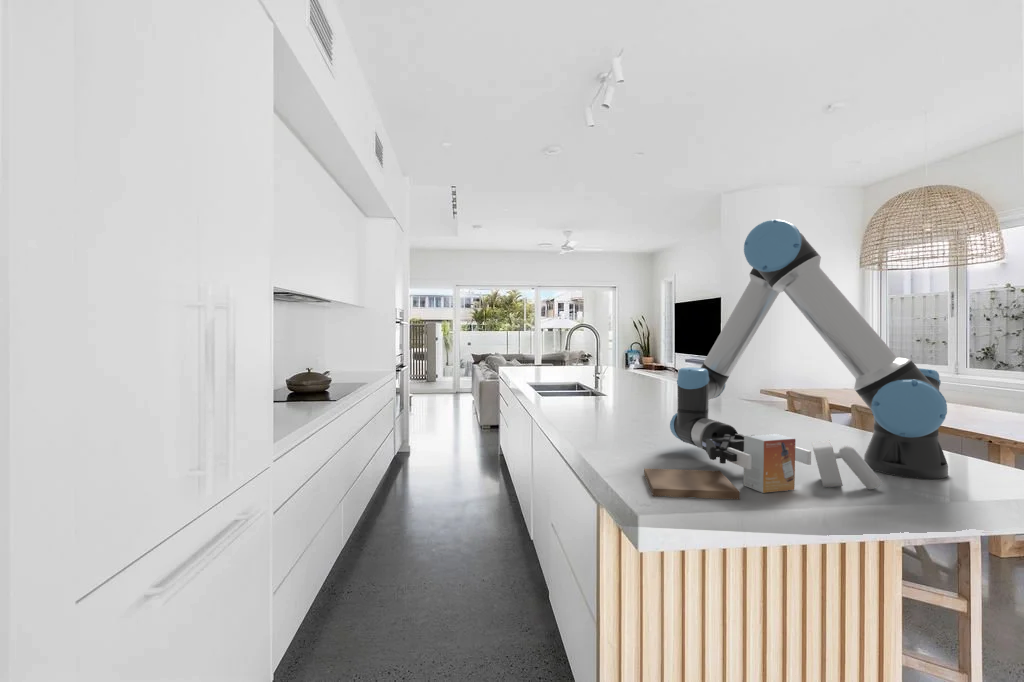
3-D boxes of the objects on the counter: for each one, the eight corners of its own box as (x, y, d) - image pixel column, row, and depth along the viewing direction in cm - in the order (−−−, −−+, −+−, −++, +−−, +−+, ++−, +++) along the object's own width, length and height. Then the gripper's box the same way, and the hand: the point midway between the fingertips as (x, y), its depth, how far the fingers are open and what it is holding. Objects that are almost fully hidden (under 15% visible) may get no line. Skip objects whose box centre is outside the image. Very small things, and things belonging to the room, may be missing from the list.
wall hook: (887, 493, 98) (873, 442, 99) (826, 498, 103) (813, 449, 104) (880, 482, 105) (867, 434, 106) (823, 487, 110) (811, 441, 111)
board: (719, 477, 111) (719, 470, 111) (739, 499, 97) (739, 491, 97) (644, 475, 113) (644, 468, 113) (653, 496, 99) (653, 488, 99)
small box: (762, 494, 100) (763, 440, 100) (742, 485, 106) (743, 434, 105) (795, 490, 102) (796, 438, 102) (774, 482, 108) (775, 432, 107)
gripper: (761, 449, 124) (833, 474, 104) (667, 456, 119) (723, 483, 98) (761, 419, 124) (833, 437, 103) (667, 423, 119) (723, 444, 98)
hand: (780, 460), depth 101 cm, fingers open, 13 cm apart
